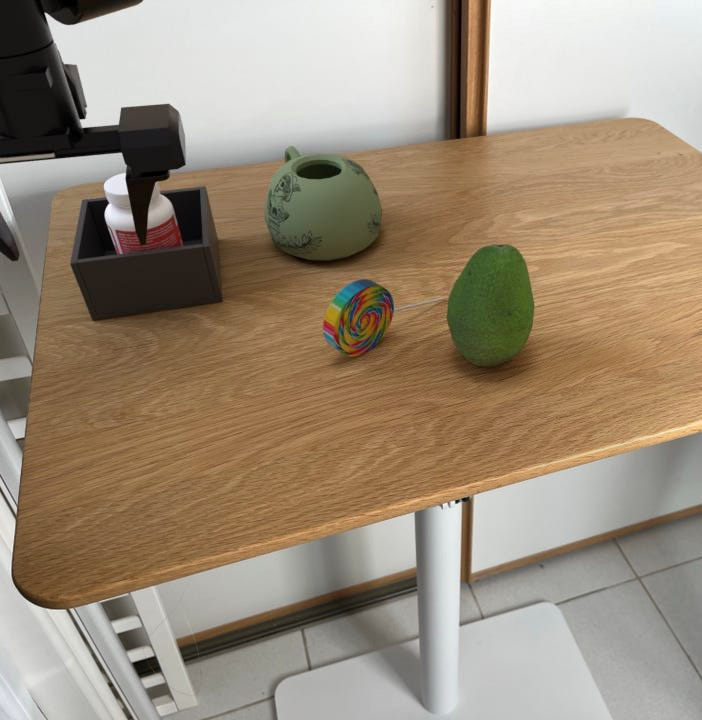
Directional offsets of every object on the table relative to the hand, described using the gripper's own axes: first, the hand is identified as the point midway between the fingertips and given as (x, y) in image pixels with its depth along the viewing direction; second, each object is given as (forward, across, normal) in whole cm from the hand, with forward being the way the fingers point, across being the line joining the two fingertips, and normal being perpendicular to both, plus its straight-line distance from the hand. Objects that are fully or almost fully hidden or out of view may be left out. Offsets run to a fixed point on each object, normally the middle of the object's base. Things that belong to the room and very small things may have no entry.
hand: (81, 250), depth 58 cm
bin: (+13, -3, -15) cm, 20 cm away
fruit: (+13, -32, +6) cm, 35 cm away
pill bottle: (+12, -3, -13) cm, 19 cm away
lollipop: (+13, -24, 0) cm, 27 cm away
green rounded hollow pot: (+13, -20, -20) cm, 31 cm away
